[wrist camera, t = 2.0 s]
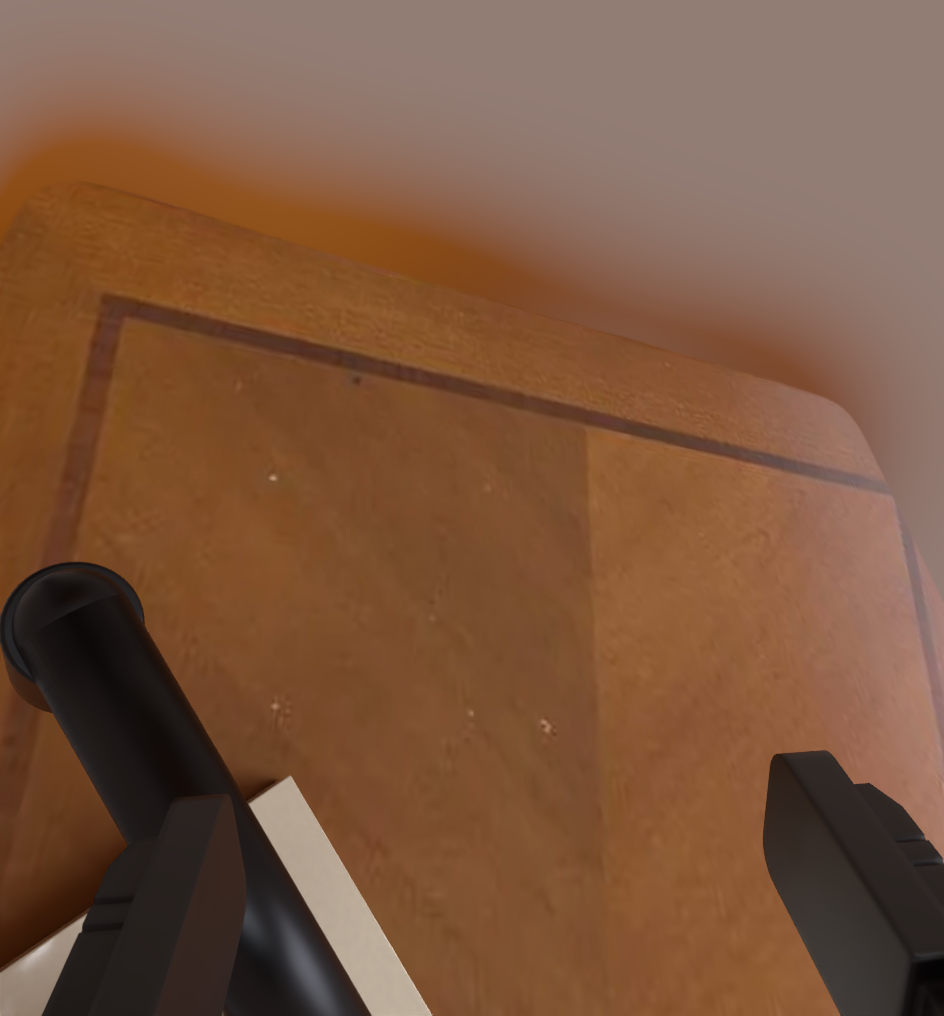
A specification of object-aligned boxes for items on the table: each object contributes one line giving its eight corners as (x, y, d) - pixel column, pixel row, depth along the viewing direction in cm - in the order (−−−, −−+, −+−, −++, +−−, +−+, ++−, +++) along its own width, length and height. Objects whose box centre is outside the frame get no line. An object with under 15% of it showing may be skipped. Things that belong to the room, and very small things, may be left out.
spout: (499, 1190, 18) (627, 1284, 14) (334, 1384, 16) (430, 1564, 12) (138, 573, 20) (160, 498, 16) (-64, 669, 17) (-99, 610, 13)
